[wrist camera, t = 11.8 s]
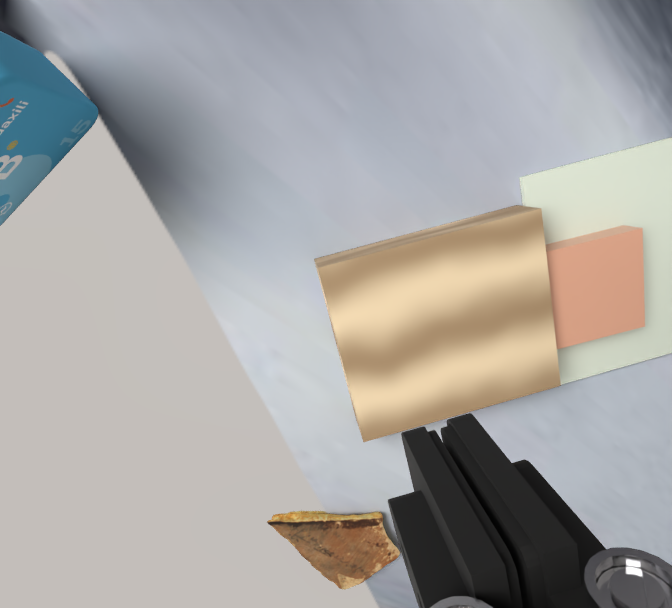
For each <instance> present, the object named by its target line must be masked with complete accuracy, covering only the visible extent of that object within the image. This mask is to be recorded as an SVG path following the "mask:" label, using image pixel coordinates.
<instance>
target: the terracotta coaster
mask: <svg viewBox="0 0 672 608" xmlns="http://www.w3.org/2000/svg"><path fill="white" fill-rule="evenodd" d="M545 246H546V255H547V264H548V273H549V282H550V292H551V301H552V310H553V319H554V328H555V337H556V346H557V349H561V348H565V347H568V346H572V345H576V344H580V343H584V342H588V341H591V340H595V339H599V338H603V337H607V336H611V335H614V334H618V333H622V332H626V331H630V330H633V329H637V328H641V327H645V305H644V265H643V228H639V227H632V226H625V225H622V226H618V227H614V228H610V229H606V230H602V231H598V232H594V233H590V234H586V235H582V236H578V237H574V238H570V239H566V240H562V241H558V242H554V243H550V244H546V245H545Z"/></svg>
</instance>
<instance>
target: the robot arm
mask: <svg viewBox="0 0 672 608" xmlns="http://www.w3.org/2000/svg"><path fill="white" fill-rule="evenodd" d="M441 435H442V440H443V442H442V441H441V439H440V437H439V436H438V434H437V432H436V431H435V430H433V431H429V432H427V430H426V428H425V427H420V428H417V429H413V430H410V431H406V432H403V433H402V440H403V445H404V449H405V453H406V458H407V462H408V466H409V470H410V475H411V479H412V483H413V488H414V492H412V493H409V494H406V495H402V496H399V497H395V498H392V499H389V500H388V503H389V508H390V512H391V516H392V519H393V523H394V527H395V531H396V535H397V538H398V542H399V545H400V549H401V552H402V555H403V559H404V562H405V565H406V568H407V571H408V574H409V578H410V581H411V584H412V587H413V590H414V593H415V596H416V599H417V602H418V605H419V608H672V566H671V565H670V564H668V563H667V562H665V561H664V560H662V559H660V558H659V557H657V556H654V555H652V554H649V553H647V552H644V551H642V550H637V549H631V548H610V549H606V548H605V547H604V546H603V545H602V544H601V543H600V542H599V540H598V539H597V538H596V537H595V536H594V535H593V534H592V533H591V531H590V530H589V529H588V528H587V527H586V526H585V525H584V523H583V522H582V521H581V520H580V519H579V518H578V517H577V515H576V514H575V513H574V512H573V511H572V510H571V509H570V507H569V506H568V505H567V504H566V503H565V502H564V501H563V499H562V498H561V497H560V496H559V495H558V494H557V493H556V491H555V490H554V489H553V488H552V487H551V486H550V485H549V483H548V482H547V481H546V480H545V479H544V478H543V477H542V475H541V474H540V473H539V472H538V471H537V470H536V469H535V467H534V466H533V465H532V464H531V463H530V462H529V461H527V460H521V461H518V462H515V463H511V462H510V460H509V459H508V458H507V457H506V456H505V454H504V453H503V452H502V451H501V449H500V448H499V447H498V446H497V444H496V443H495V442H494V441H493V439H492V438H491V437H490V436H489V435H488V433H487V432H486V431H485V430H484V428H483V427H482V426H481V425H480V423H479V422H478V421H477V420H476V418H475V417H474V416H473V415H472V414H470V413H469V414H465V415H462V416H458V417H455V418H451V419H448V420H447V427H443V428H441Z"/></svg>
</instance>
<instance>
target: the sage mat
mask: <svg viewBox="0 0 672 608" xmlns="http://www.w3.org/2000/svg"><path fill="white" fill-rule="evenodd" d="M519 179H520V187H521V195H522V204H523V206H527V207H535V208H541V210H542V219H543V228H544V237H545V245H546V244H550V243H554V242H558V241H562V240H566V239H570V238H574V237H578V236H582V235H586V234H590V233H594V232H598V231H602V230H606V229H610V228H614V227H618V226H622V225H625V226H632V227H639V228H643V265H644V305H645V327H641V328H637V329H633V330H630V331H626V332H622V333H618V334H614V335H611V336H607V337H603V338H599V339H595V340H591V341H588V342H584V343H580V344H576V345H572V346H568V347H565V348H561V349H557V355H558V364H559V373H560V383H561V385H562V384H565V383H569V382H572V381H576V380H579V379H583V378H586V377H590V376H593V375H597V374H600V373H604V372H607V371H611V370H614V369H618V368H621V367H625V366H628V365H632V364H635V363H639V362H642V361H646V360H649V359H653V358H656V357H660V356H663V355H667V354H670V353H672V137H670V138H667V139H663V140H659V141H655V142H651V143H648V144H644V145H640V146H636V147H632V148H629V149H625V150H621V151H617V152H613V153H610V154H606V155H602V156H598V157H594V158H591V159H587V160H583V161H579V162H575V163H572V164H568V165H564V166H560V167H556V168H553V169H549V170H545V171H541V172H537V173H534V174H530V175H526V176H522V177H519Z"/></svg>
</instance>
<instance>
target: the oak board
mask: <svg viewBox="0 0 672 608" xmlns="http://www.w3.org/2000/svg"><path fill="white" fill-rule="evenodd" d="M314 260H315V264H316V268H317V272H318V275H319V279H320V283H321V287H322V291H323V294H324V298H325V302H326V306H327V310H328V313H329V317H330V321H331V325H332V329H333V332H334V336H335V340H336V344H337V348H338V351H339V355H340V359H341V363H342V367H343V370H344V374H345V378H346V382H347V386H348V389H349V393H350V397H351V401H352V405H353V408H354V412H355V416H356V420H357V423H358V426H359V429H360V432H361V435H362V439H363V442H366V441H369V440H373V439H376V438H380V437H383V436H387V435H390V434H394V433H397V432H401V431H404V430H408V429H411V428H415V427H418V426H422V425H425V424H429V423H432V422H436V421H439V420H443V419H446V418H450V417H453V416H457V415H460V414H464V413H467V412H471V411H474V410H478V409H481V408H485V407H488V406H491V405H495V404H498V403H502V402H505V401H509V400H512V399H516V398H519V397H523V396H526V395H530V394H533V393H537V392H540V391H544V390H547V389H551V388H554V387H558V386H561V383H560V373H559V364H558V355H557V346H556V337H555V328H554V319H553V310H552V301H551V292H550V282H549V273H548V264H547V255H546V246H545V237H544V228H543V219H542V210H541V208H535V207H527V206H519V205H515V206H512V207H508V208H504V209H500V210H496V211H493V212H489V213H485V214H481V215H478V216H474V217H470V218H466V219H463V220H459V221H455V222H451V223H448V224H444V225H440V226H436V227H433V228H429V229H425V230H421V231H418V232H414V233H410V234H406V235H403V236H399V237H395V238H391V239H387V240H384V241H380V242H376V243H372V244H369V245H365V246H361V247H357V248H354V249H350V250H346V251H342V252H339V253H335V254H331V255H327V256H324V257H320V258H316V259H314Z"/></svg>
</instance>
